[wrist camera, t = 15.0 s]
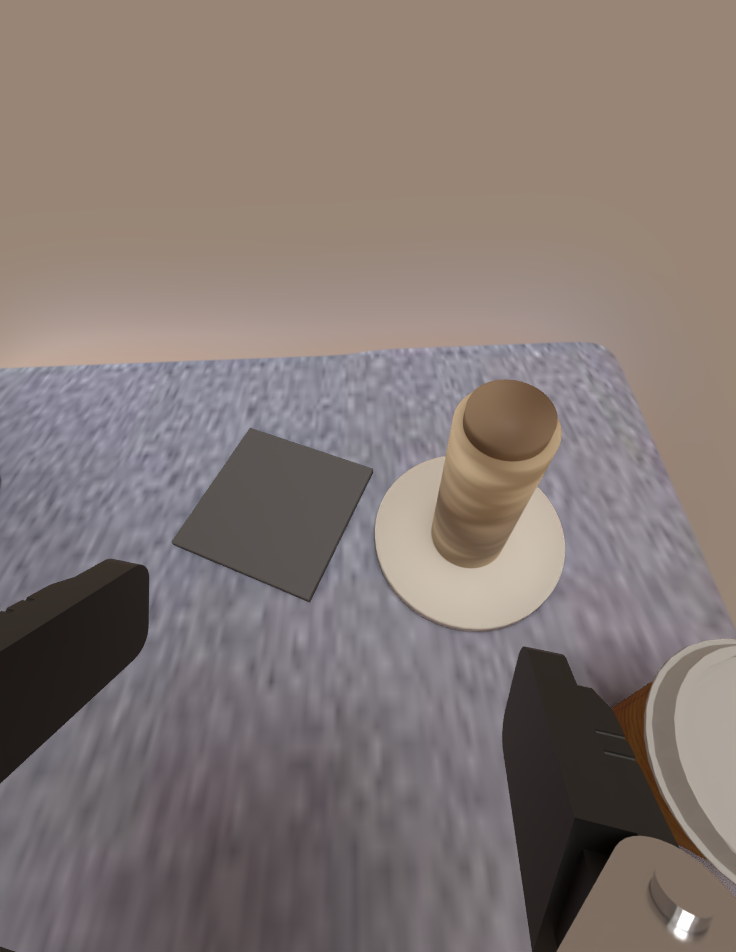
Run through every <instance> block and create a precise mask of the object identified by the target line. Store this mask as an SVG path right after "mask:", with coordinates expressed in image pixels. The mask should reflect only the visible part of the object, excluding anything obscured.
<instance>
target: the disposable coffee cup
mask: <svg viewBox="0 0 736 952" xmlns="http://www.w3.org/2000/svg"><path fill="white" fill-rule="evenodd" d="M612 710H613V712H614V714H615V716H616V718H617V720H618V722H619V724H620V726H621V728H622V730H623V732H624V734H625V740H626V741H628V743H629V745H630V747H631V749H632V751H633V753H634V755H635V762H637V763H639V765H640V768H641V770H642V772H643V774H644V776H645V778H646V780H647V782H648V784H649V786H650V788H651V790H652V792H653V794H654V797H655V799H656V801H657V803H658V805H659V807H660V809H661V811H662V813H663V815H664V817H665V819H666V821H667V823H668V826H669V828H670V830H671V832H672V834H673V836H674V838H675V840H676V842H677V844H679V845H681V846H683V847H684V848H686V849H688V850H690V851H692V852H693V853H695V854H697V855H698V856H700V857H702V858H704V859H706V860H707V861H708V862H710V863H711V864H712V865H713V866H714V867H715V868H716V869H718V870H719V871H720V872H721V873H722V874H723V875H724V876H725V877H727V878H728V879H729V880H730V881H731V882H732V883H733V884H735V885H736V640H734V639H719V640H708V641H704V642H701V643H698V644H694V645H691V646H688V647H686V648H684V649H683V650H681V651H679V652H678V653H677V654H675V655H674V656H673V657H672V658H670V659H669V660H668V661H667V662H666V663H665V664H664V665H663V667H662V668H661V670H660V671H659V672H658V674H657V675H656V677H655V678H654V680H653V681H652V682H651V683H649V684H647V685H646V686H645V687H643V688H642V689H640V690H639V691H637V692H635V693H634V694H632V695H631V696H630V697H628V698H627V699H625V700H624V701H622V702H621V703H619V704H618V705H616V706H615V707H613V708H612Z"/></svg>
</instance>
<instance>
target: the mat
mask: <svg viewBox="0 0 736 952" xmlns="http://www.w3.org/2000/svg"><path fill="white" fill-rule="evenodd" d="M372 473H373V469H372V468H369V467H366V466H363V465H360V464H357V463H354V462H351V461H348V460H345V459H342V458H339V457H336V456H333V455H330V454H327V453H324V452H321V451H318V450H315V449H312V448H309V447H306V446H303V445H300V444H297V443H294V442H291V441H288V440H285V439H282V438H279V437H276V436H273V435H270V434H267V433H264V432H261V431H258V430H255V429H252V428H250V429H249V430H248V432H247V433H246V435H245V436H244V437H243V439H242V440H241V442H240V443H239V445H238V446H237V448H236V449H235V451H234V452H233V453H232V455H231V456H230V458H229V459H228V461H227V462H226V464H225V465H224V466H223V468H222V469H221V471H220V472H219V474H218V475H217V477H216V478H215V480H214V481H213V482H212V484H211V485H210V487H209V488H208V490H207V491H206V493H205V494H204V495H203V497H202V498H201V500H200V501H199V503H198V504H197V506H196V507H195V509H194V510H193V511H192V513H191V514H190V516H189V517H188V519H187V520H186V522H185V523H184V524H183V526H182V527H181V529H180V530H179V532H178V533H177V535H176V536H175V538H174V539H173V540H172V543H173V544H174V545H176V546H178V547H181V548H183V549H185V550H188V551H190V552H192V553H195V554H197V555H199V556H202V557H204V558H207V559H209V560H211V561H214V562H216V563H218V564H221V565H223V566H226V567H228V568H230V569H233V570H235V571H237V572H240V573H242V574H244V575H247V576H249V577H252V578H254V579H256V580H259V581H261V582H263V583H266V584H268V585H271V586H273V587H275V588H278V589H280V590H282V591H285V592H287V593H290V594H292V595H294V596H297V597H299V598H301V599H304V600H306V601H308V602H310V601H311V599H312V596H313V594H314V592H315V590H316V588H317V586H318V584H319V582H320V580H321V578H322V576H323V574H324V572H325V570H326V568H327V566H328V564H329V562H330V560H331V557H332V555H333V553H334V551H335V549H336V547H337V545H338V543H339V541H340V539H341V537H342V535H343V533H344V531H345V529H346V527H347V525H348V523H349V521H350V519H351V516H352V514H353V512H354V510H355V508H356V506H357V504H358V502H359V500H360V498H361V496H362V494H363V492H364V490H365V488H366V486H367V484H368V482H369V480H370V478H371V475H372Z"/></svg>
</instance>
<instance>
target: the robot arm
mask: <svg viewBox="0 0 736 952" xmlns="http://www.w3.org/2000/svg"><path fill="white" fill-rule="evenodd" d="M148 624H149V573H148V570H147V568H146V567H145V566H143V565H139V564H135V563H130V562H125V561H120V560H116V559H107V560H104V561H103V562H101V563H99V564H97V565H95V566H94V567H92V568H90V569H88V570H86V571H85V572H83V573H81V574H79V575H78V576H76V577H73V578H70V579H67V580H64V581H61V582H57V583H54V584H51V585H49V586H47V587H45V588H43V589H42V590H40V591H38V592H36V593H34V594H32V595H31V596H29V597H27V599H26V601H24V600H21V601H19V602H18V603H16V604H14V605H12V606H10V607H8V608H7V610H6V611H5V612H2V611H1V612H0V783H1V782H2V781H3V780H4V779H6V778H7V777H8V776H9V775H10V774H11V773H12V772H13V771H14V770H15V769H16V768H17V767H19V766H20V765H21V764H22V763H23V762H24V761H25V760H26V759H27V758H28V757H29V756H30V755H31V754H33V753H34V752H35V751H36V750H37V749H38V748H39V747H40V746H41V745H42V744H43V743H44V742H46V741H47V740H48V739H49V738H50V737H51V736H52V735H53V734H54V733H55V732H56V731H57V730H58V729H60V728H61V727H62V726H63V725H64V724H65V723H66V722H67V721H68V720H69V719H70V718H71V717H73V716H74V715H75V714H76V713H77V712H78V711H79V710H80V709H81V708H82V707H83V706H84V705H85V704H87V703H88V702H89V701H90V700H91V699H92V698H93V697H94V696H95V695H96V694H97V693H98V692H100V691H101V690H102V689H103V688H104V687H105V686H106V685H107V684H108V683H109V682H110V681H111V680H112V679H114V678H115V677H116V676H117V675H118V674H119V673H120V672H121V671H122V670H123V669H124V668H125V667H127V666H128V665H129V664H130V663H131V662H132V661H133V660H134V659H135V658H136V657H137V656H138V654H139V653H140V651H141V650H142V648H143V646H144V644H145V641H146V638H147V635H148ZM502 743H503V753H504V760H505V767H506V774H507V781H508V788H509V794H510V801H511V808H512V815H513V822H514V829H515V836H516V843H517V850H518V857H519V864H520V871H521V878H522V884H523V891H524V898H525V905H526V912H527V919H528V926H529V933H530V940H531V947H532V952H736V898H735V897H734V896H733V895H732V893H731V892H730V891H729V890H728V888H727V887H726V886H725V885H724V884H723V883H722V882H721V881H720V880H719V879H718V878H717V877H716V876H715V875H714V874H713V873H712V872H711V871H710V870H709V869H708V868H706V867H705V866H704V865H703V864H701V863H700V862H699V861H698V860H696V859H695V858H693V857H692V856H690V855H689V854H687V853H686V852H684V851H683V850H681V849H680V848H679V846H678V844H677V842H676V840H675V838H674V836H673V834H672V832H671V830H670V828H669V826H668V823H667V821H666V819H665V817H664V815H663V813H662V811H661V809H660V807H659V805H658V803H657V801H656V799H655V797H654V794H653V792H652V790H651V788H650V786H649V784H648V782H647V780H646V778H645V776H644V774H643V772H642V770H641V768H640V765H639V763H637V762H635V755H634V753H633V751H632V749H631V747H630V745H629V743H628V741H626V740H625V734H624V732H623V730H622V728H621V726H620V724H619V722H618V720H617V718H616V716H615V714H614V712H613V710H612V709H611V708H610V707H609V706H608V705H607V704H606V703H605V702H604V701H603V700H602V699H601V698H600V697H599V696H598V695H597V693H596V692H595V691H594V690H593V689H592V688H587V687H582V686H578V685H577V684H576V681H575V679H574V676H573V674H572V671H571V669H570V667H569V664H568V662H567V659H566V657H565V656H564V655H563V654H558V653H553V652H549V651H544V650H539V649H534V648H530V647H522V649H521V651H520V653H519V656H518V660H517V664H516V668H515V672H514V676H513V680H512V685H511V689H510V693H509V697H508V701H507V705H506V709H505V714H504V720H503V731H502ZM0 952H14V951H11V950H8V949H5V948H3V947H0Z"/></svg>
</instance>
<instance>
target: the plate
mask: <svg viewBox="0 0 736 952" xmlns="http://www.w3.org/2000/svg"><path fill="white" fill-rule="evenodd" d="M445 457H446V456H444V457H439V458H435V459H432V460H428V461H426V462H423V463H421V464H419V465H417V466H415V467H413V468H412V469H410V470H408V471H407V472H406V473H404V474H403V475H402V476H401V477H399V478H398V479H397V481H396V482H395V483H394V484H393V485H392V486H391V487H390V489H389V490H388V491H387V493H386V495H385V496H384V498H383V500H382V502H381V505H380V507H379V510H378V513H377V518H376V524H375V543H376V552H377V557H378V562H379V564H380V567H381V570H382V573H383V574H384V576H385V578H386V580H387V582H388V584H389V585H390V587H391V588H392V589H393V591H394V592H395V594H396V595H397V596H398V597H399V598H400V599H401V600H402V601H403V602H404V603H405V604H406V605H407V606H408V607H410V608H411V609H412V610H413V611H415V612H416V613H418V614H419V615H421V616H422V617H424V618H425V619H428V620H430V621H432V622H434V623H436V624H438V625H441V626H444V627H447V628H451V629H456V630H461V631H471V632H482V631H492V630H497V629H501V628H505V627H507V626H510V625H513V624H515V623H517V622H519V621H521V620H523V619H525V618H526V617H527V616H529V615H530V614H531V613H533V612H534V611H535V610H536V609H537V608H538V607H539V606H540V605H541V604H542V603H543V602H544V601H545V600H546V599H547V598H548V597H549V595H550V594H551V592H552V591H553V590H554V588H555V586H556V584H557V582H558V580H559V578H560V576H561V572H562V569H563V565H564V558H565V541H564V535H563V530H562V526H561V523H560V520H559V518H558V516H557V514H556V511H555V509H554V508H553V506H552V505H551V503H550V501H549V500H548V498H547V497H546V496H545V495H544V493H543V492H542V491H541V490H540V489H539V488H538V487H536V489H535V491H534V493H533V495H532V496H531V498H530V500H529V502H528V504H527V506H526V507H525V509H524V511H523V513H522V515H521V517H520V518H519V520H518V522H517V524H516V526H515V527H514V529H513V531H512V533H511V535H510V537H509V538H508V540H507V542H506V544H505V546H504V547H503V549H502V551H501V553H500V555H499V556H498V557H497V558H496V559H495V560H494V561H493V562H491V563H490V564H488V565H486V566H483V567H479V568H463V567H459V566H456V565H454V564H452V563H450V562H449V561H447V560H446V559H444V558H443V557H442V556H441V555H440V554H439V552H438V551H437V549H436V548H435V546H434V543H433V540H432V535H431V529H432V523H433V518H434V513H435V508H436V503H437V498H438V492H439V487H440V482H441V477H442V472H443V467H444V462H445Z"/></svg>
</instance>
